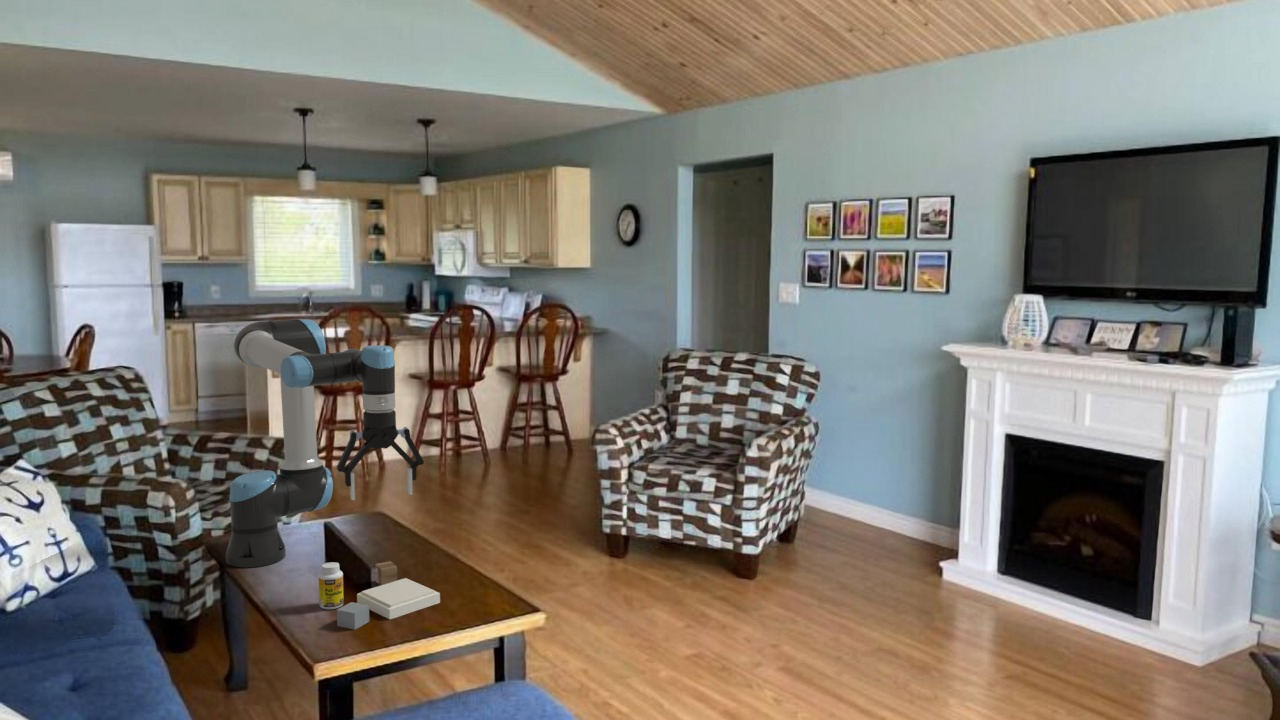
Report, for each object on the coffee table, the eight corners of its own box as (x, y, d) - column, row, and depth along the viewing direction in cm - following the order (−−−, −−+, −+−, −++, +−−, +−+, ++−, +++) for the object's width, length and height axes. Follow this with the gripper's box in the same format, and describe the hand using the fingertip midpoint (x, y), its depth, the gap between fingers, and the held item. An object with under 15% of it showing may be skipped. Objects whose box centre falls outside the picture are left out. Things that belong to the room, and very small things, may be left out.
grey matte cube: (337, 626, 214) (336, 609, 213) (351, 618, 218) (351, 602, 218) (355, 630, 212) (354, 613, 211) (369, 622, 217) (368, 605, 216)
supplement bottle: (323, 612, 222) (321, 570, 220) (316, 604, 226) (315, 563, 225) (346, 607, 225) (345, 566, 223) (340, 599, 229) (338, 559, 228)
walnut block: (375, 582, 241) (375, 563, 240) (391, 579, 243) (390, 561, 242) (381, 588, 237) (381, 569, 236) (397, 585, 239) (397, 566, 238)
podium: (357, 603, 227) (356, 591, 227) (406, 587, 237) (406, 576, 237) (389, 619, 218) (389, 607, 217) (440, 602, 228) (439, 590, 228)
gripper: (326, 416, 218) (329, 505, 221) (434, 409, 228) (436, 494, 231) (323, 410, 225) (326, 497, 227) (428, 404, 235) (430, 487, 237)
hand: (381, 496), depth 229 cm, fingers open, 13 cm apart
